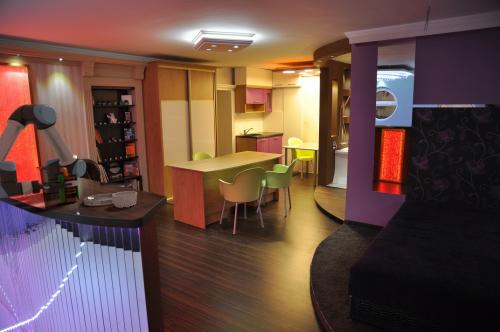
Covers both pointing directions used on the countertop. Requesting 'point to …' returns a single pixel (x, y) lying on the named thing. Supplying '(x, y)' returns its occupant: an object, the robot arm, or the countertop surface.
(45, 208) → the countertop surface
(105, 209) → the countertop surface
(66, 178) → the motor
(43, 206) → the countertop surface
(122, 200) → the ramekin
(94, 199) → the tray
